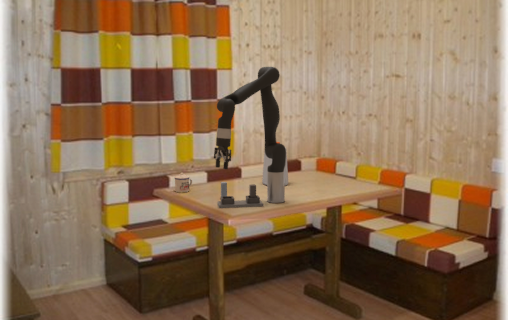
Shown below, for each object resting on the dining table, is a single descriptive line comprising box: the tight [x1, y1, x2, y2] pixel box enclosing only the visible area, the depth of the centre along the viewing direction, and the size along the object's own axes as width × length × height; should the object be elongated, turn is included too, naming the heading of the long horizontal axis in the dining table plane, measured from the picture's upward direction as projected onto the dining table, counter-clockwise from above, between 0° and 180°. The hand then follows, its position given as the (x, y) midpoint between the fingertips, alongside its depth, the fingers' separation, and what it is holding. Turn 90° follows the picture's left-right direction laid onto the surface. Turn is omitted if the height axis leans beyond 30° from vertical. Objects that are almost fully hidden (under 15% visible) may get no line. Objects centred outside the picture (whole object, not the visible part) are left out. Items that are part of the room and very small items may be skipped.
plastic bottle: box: [261, 141, 289, 187], centre depth 354 cm, size 15×15×28 cm
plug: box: [220, 181, 228, 198], centre depth 312 cm, size 3×4×10 cm
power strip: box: [216, 183, 264, 209], centre depth 295 cm, size 24×10×11 cm, turn 99°
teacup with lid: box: [174, 172, 193, 193], centre depth 334 cm, size 12×9×12 cm
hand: (221, 168), depth 282 cm, fingers open, 8 cm apart
